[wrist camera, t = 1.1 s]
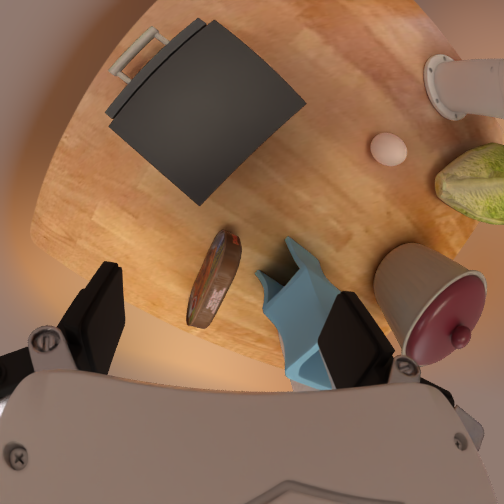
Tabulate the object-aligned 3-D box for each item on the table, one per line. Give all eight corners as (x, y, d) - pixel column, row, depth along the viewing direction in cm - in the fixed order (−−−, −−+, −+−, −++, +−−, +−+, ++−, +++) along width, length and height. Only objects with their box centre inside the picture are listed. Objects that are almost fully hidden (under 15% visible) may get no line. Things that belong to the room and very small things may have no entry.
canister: (444, 250, 45) (513, 307, 26) (396, 318, 51) (446, 388, 33) (396, 208, 40) (487, 269, 21) (339, 294, 46) (393, 385, 27)
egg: (369, 126, 34) (394, 128, 28) (393, 139, 35) (419, 144, 29) (359, 154, 36) (383, 161, 30) (383, 167, 37) (408, 175, 31)
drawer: (108, 96, 27) (78, 89, 20) (178, 24, 24) (167, -3, 16) (192, 169, 34) (183, 181, 26) (266, 97, 30) (280, 87, 22)
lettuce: (419, 214, 46) (416, 136, 41) (504, 217, 39) (504, 147, 34) (447, 235, 33) (446, 131, 28) (540, 236, 26) (543, 151, 21)
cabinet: (138, 126, 31) (108, 126, 21) (215, 48, 27) (214, 19, 18) (205, 185, 36) (199, 206, 26) (283, 110, 32) (307, 103, 23)
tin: (222, 220, 38) (223, 245, 30) (242, 228, 39) (248, 254, 31) (186, 301, 43) (181, 336, 36) (204, 307, 44) (202, 342, 37)
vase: (290, 296, 45) (327, 393, 27) (254, 273, 42) (277, 375, 24) (322, 262, 43) (380, 350, 25) (287, 235, 40) (337, 323, 22)
